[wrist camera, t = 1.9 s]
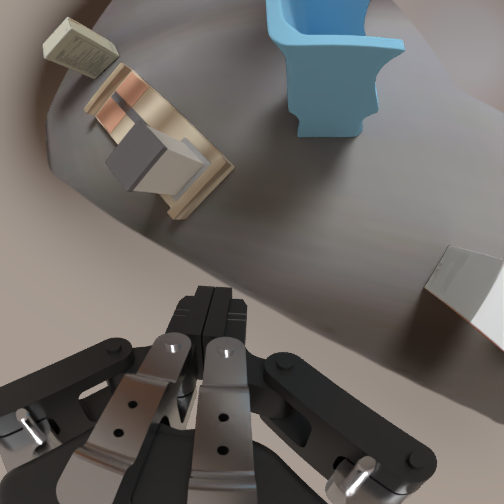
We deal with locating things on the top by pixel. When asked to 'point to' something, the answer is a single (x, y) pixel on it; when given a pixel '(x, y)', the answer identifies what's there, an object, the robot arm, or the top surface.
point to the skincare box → (79, 49)
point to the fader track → (162, 119)
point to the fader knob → (156, 162)
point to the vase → (329, 63)
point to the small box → (472, 290)
